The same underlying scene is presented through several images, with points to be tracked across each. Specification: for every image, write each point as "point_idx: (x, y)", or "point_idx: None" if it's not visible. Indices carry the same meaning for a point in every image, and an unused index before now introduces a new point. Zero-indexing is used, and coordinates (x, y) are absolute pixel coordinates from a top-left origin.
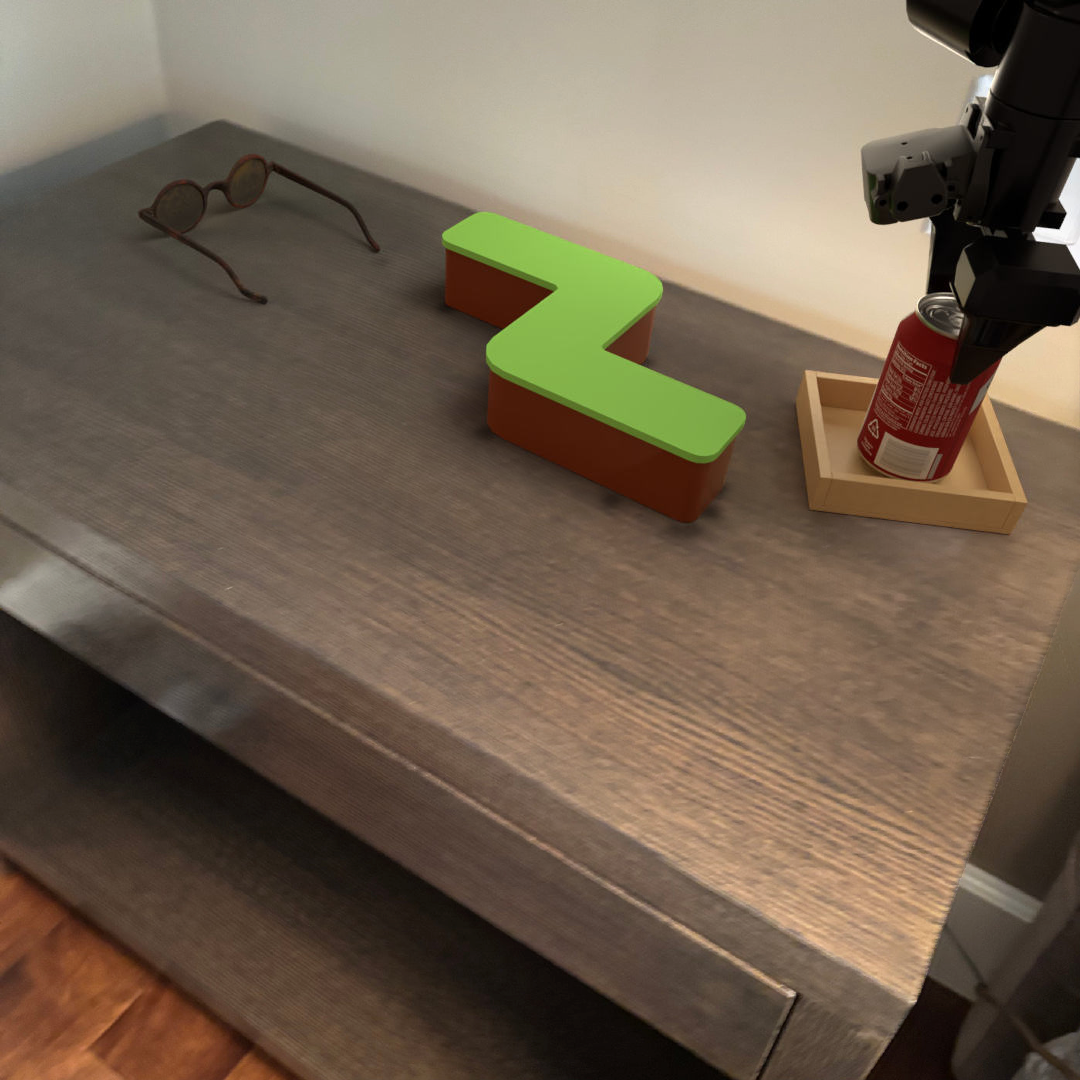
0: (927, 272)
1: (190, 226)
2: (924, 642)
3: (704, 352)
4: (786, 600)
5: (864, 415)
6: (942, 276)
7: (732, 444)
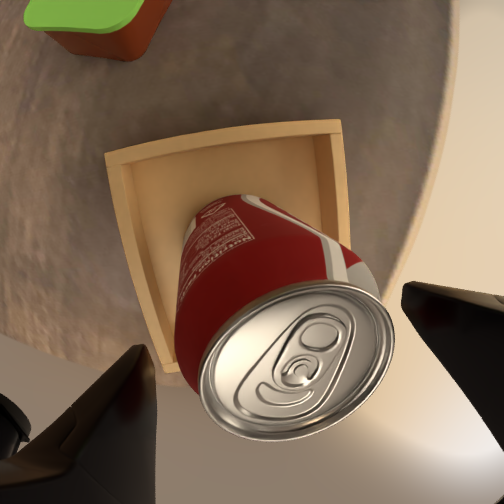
0: (457, 289)
1: None
2: (10, 277)
3: (369, 36)
4: (3, 160)
5: (311, 202)
6: (443, 321)
7: (103, 37)
